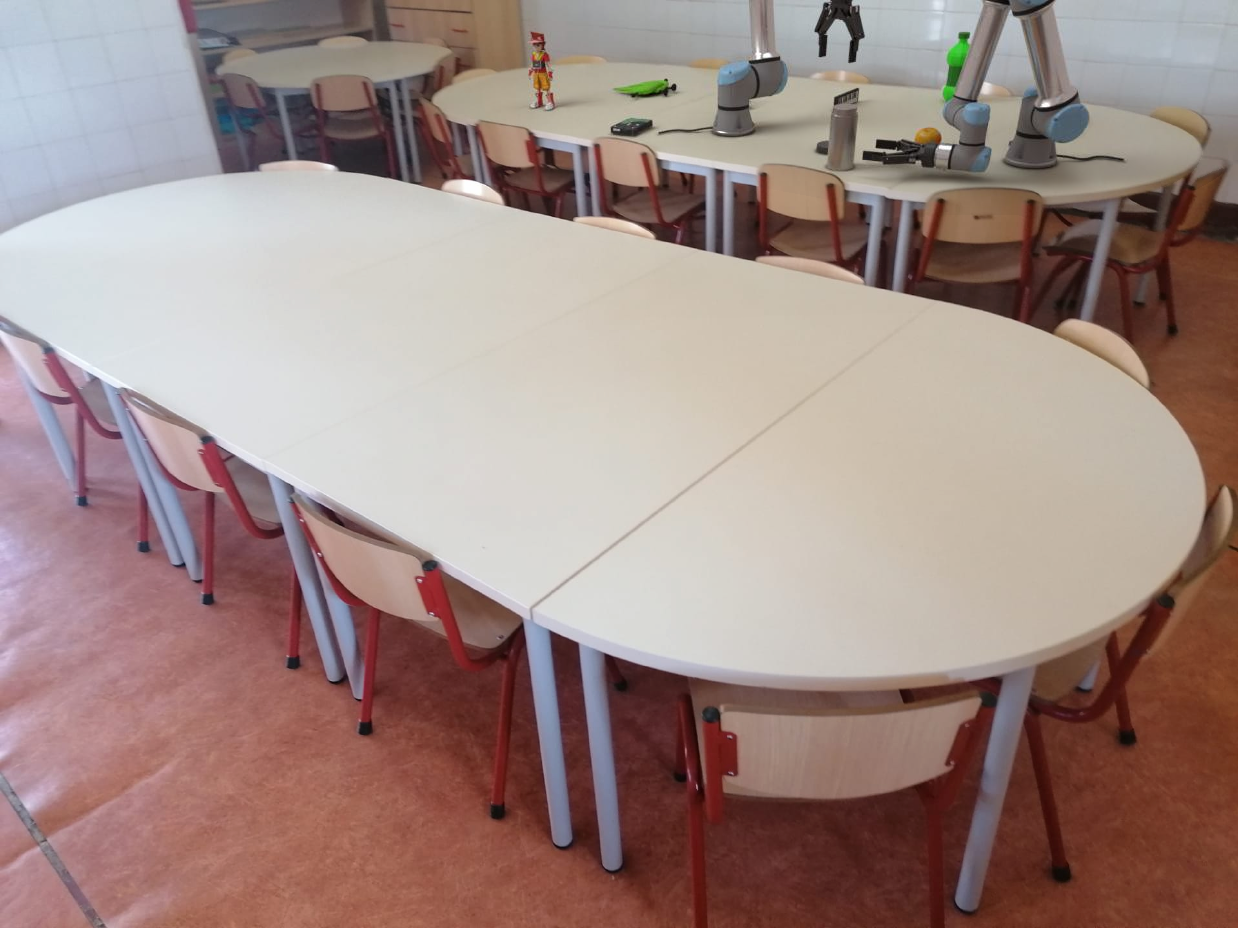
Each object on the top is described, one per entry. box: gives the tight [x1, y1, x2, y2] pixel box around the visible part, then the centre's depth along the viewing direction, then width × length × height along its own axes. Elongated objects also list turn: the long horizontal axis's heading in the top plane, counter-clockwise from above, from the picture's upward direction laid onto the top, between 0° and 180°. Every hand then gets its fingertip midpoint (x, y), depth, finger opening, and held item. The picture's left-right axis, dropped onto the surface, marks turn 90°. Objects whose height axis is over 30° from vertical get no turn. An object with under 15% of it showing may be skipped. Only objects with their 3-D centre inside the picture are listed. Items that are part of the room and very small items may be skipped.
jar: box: [826, 103, 859, 172], centre depth 289 cm, size 8×8×19 cm
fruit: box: [913, 127, 943, 145], centre depth 303 cm, size 8×8×8 cm
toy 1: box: [527, 31, 556, 111], centre depth 374 cm, size 12×9×30 cm
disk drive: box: [610, 117, 653, 136], centre depth 344 cm, size 10×3×15 cm
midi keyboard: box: [833, 87, 860, 106], centre depth 357 cm, size 18×1×5 cm, turn 138°
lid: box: [815, 140, 829, 155], centre depth 309 cm, size 9×9×2 cm
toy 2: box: [612, 78, 677, 99], centre depth 396 cm, size 28×5×30 cm
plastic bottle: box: [942, 31, 971, 103], centre depth 348 cm, size 10×10×25 cm
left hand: (836, 59), depth 293 cm, fingers open, 13 cm apart
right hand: (869, 149), depth 287 cm, fingers open, 13 cm apart
